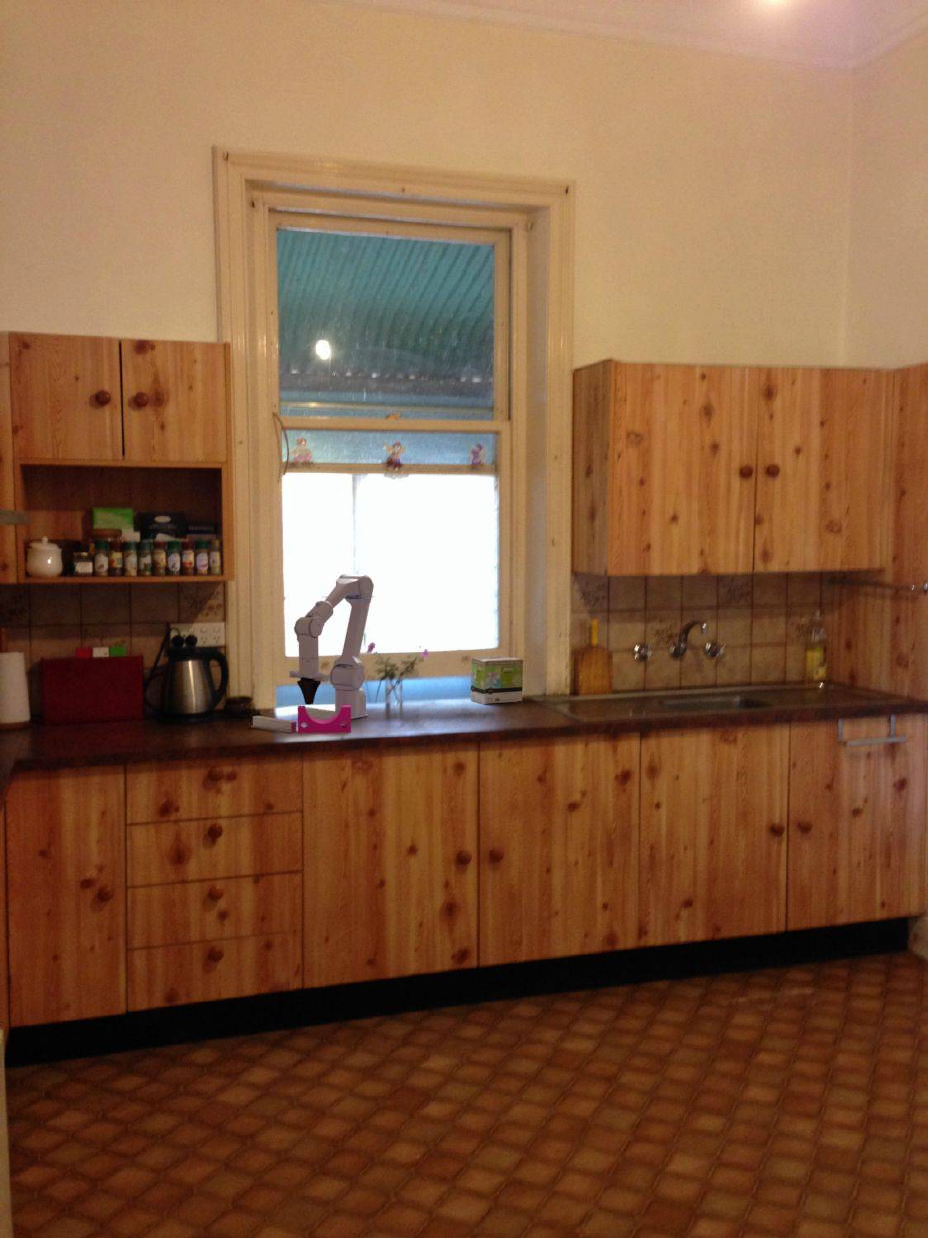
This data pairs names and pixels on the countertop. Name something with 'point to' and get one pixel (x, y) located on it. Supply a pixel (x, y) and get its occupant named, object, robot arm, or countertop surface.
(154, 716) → the countertop surface
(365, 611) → the robot arm
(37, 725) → the countertop surface
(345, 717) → the toy block
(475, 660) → the tea box
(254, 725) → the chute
